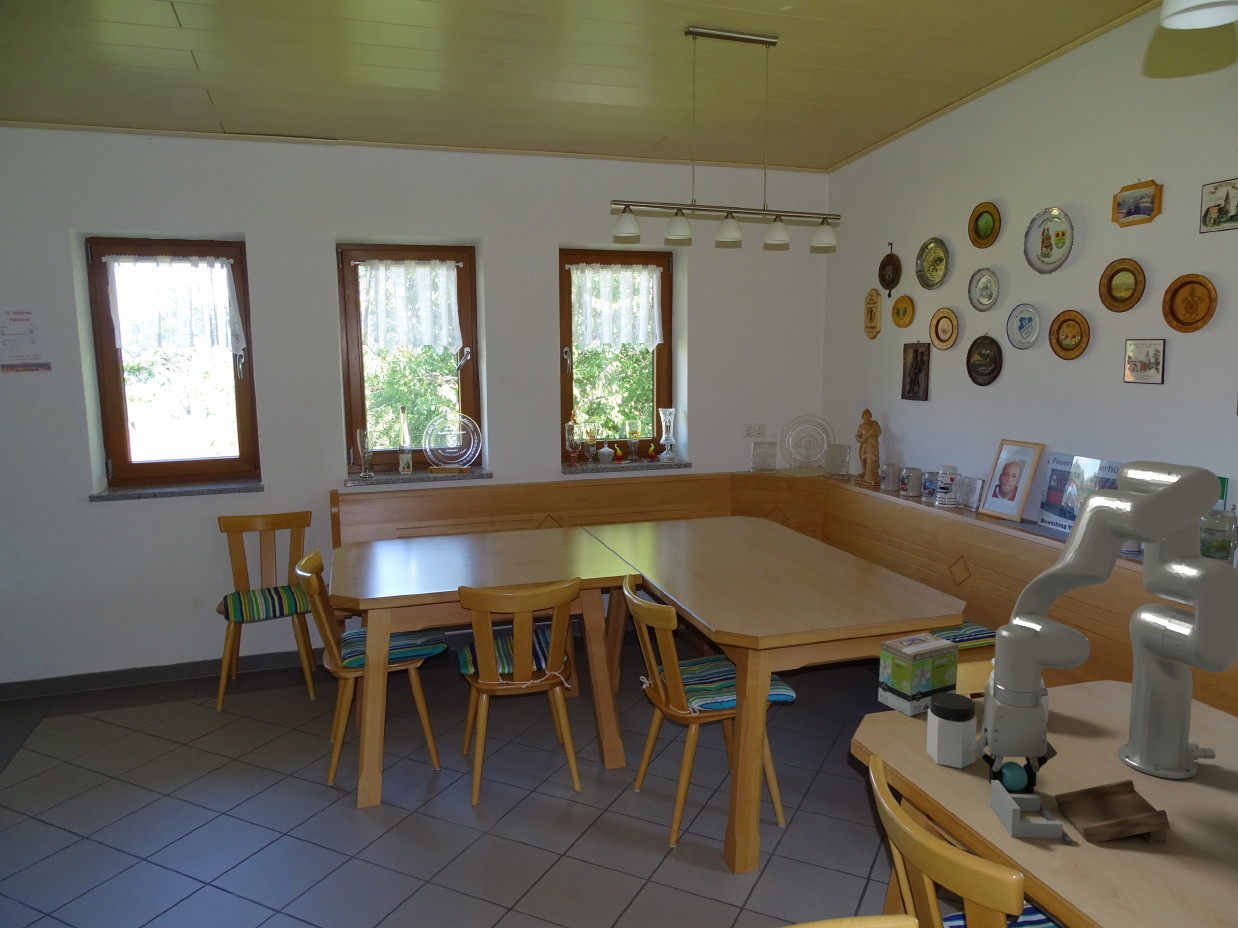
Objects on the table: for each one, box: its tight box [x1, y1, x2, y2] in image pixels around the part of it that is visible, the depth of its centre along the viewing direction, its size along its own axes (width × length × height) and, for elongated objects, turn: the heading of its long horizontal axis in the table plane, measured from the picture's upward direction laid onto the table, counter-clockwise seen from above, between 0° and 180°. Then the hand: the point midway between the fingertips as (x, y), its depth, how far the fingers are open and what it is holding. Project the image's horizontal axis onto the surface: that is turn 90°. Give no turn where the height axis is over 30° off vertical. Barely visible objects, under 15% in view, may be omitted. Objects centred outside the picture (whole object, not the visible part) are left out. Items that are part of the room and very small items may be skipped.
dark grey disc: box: [1002, 785, 1033, 795], centre depth 141 cm, size 6×6×1 cm
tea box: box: [877, 632, 959, 717], centre depth 179 cm, size 15×10×15 cm
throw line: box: [1039, 801, 1073, 845], centre depth 131 cm, size 1×12×1 cm, turn 175°
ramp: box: [1054, 779, 1170, 844], centre depth 130 cm, size 13×10×6 cm
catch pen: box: [989, 780, 1064, 840], centre depth 131 cm, size 8×9×5 cm
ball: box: [1000, 761, 1028, 791], centre depth 141 cm, size 5×5×5 cm
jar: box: [926, 692, 978, 769], centre depth 153 cm, size 9×8×12 cm
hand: (1012, 787), depth 141 cm, fingers closed on ball, 4 cm apart
